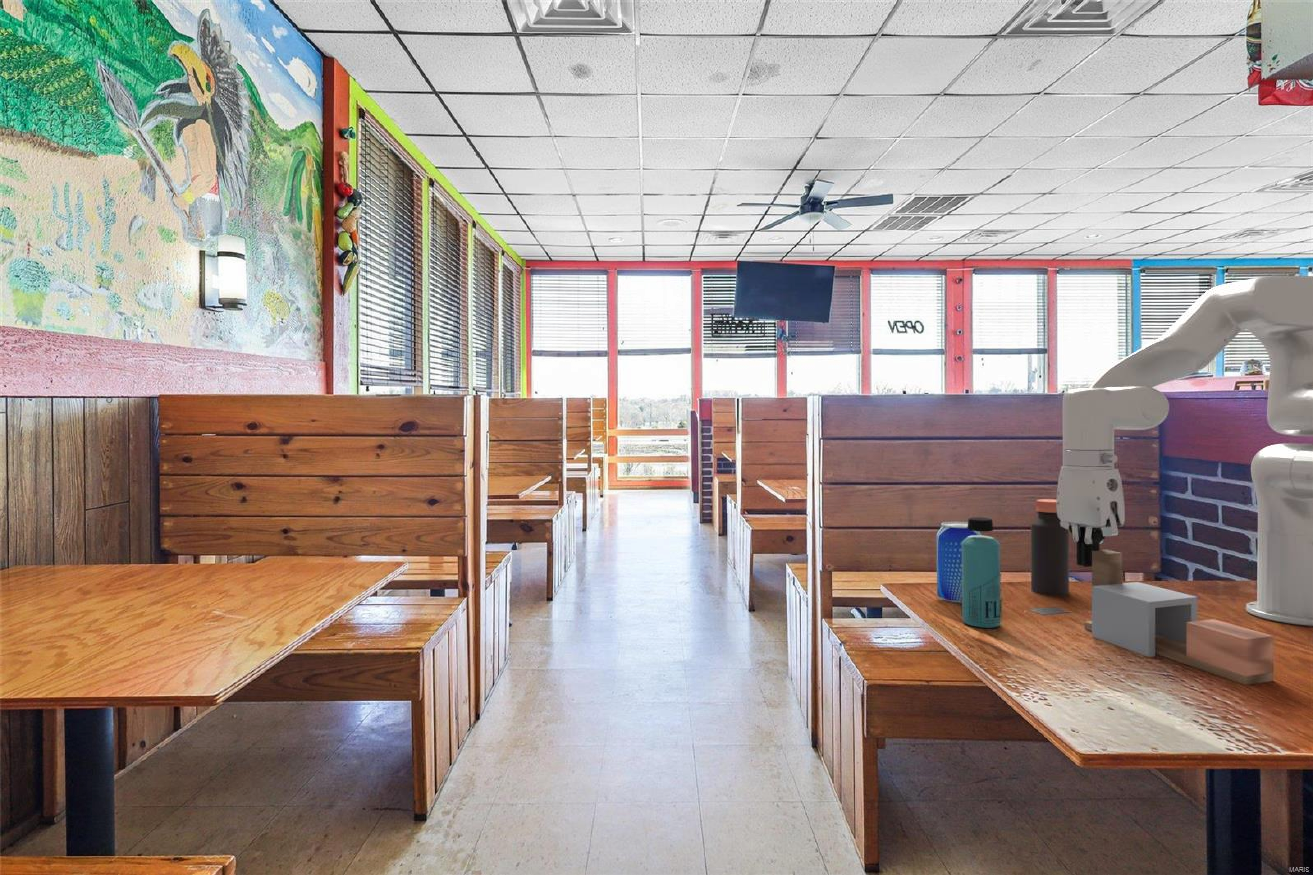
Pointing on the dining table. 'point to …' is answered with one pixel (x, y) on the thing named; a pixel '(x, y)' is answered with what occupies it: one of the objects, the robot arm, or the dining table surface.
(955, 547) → the beer can
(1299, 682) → the dining table surface
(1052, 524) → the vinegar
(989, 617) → the beverage bottle
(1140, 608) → the tunnel
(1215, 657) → the sled
